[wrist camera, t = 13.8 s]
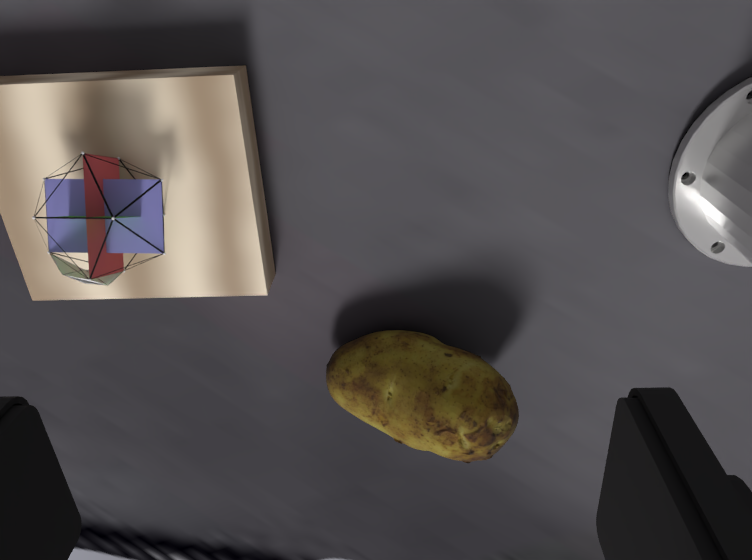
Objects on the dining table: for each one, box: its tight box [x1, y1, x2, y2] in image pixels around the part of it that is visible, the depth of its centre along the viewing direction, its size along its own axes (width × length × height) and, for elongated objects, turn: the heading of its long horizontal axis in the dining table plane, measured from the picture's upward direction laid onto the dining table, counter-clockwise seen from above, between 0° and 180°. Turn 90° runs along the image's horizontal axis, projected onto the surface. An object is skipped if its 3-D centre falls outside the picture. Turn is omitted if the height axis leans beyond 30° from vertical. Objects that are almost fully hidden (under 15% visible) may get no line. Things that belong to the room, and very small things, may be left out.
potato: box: [326, 330, 519, 463], centre depth 43 cm, size 8×13×8 cm, turn 64°
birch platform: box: [0, 65, 276, 301], centre depth 39 cm, size 16×14×3 cm
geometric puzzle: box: [32, 152, 166, 285], centre depth 35 cm, size 7×7×8 cm
